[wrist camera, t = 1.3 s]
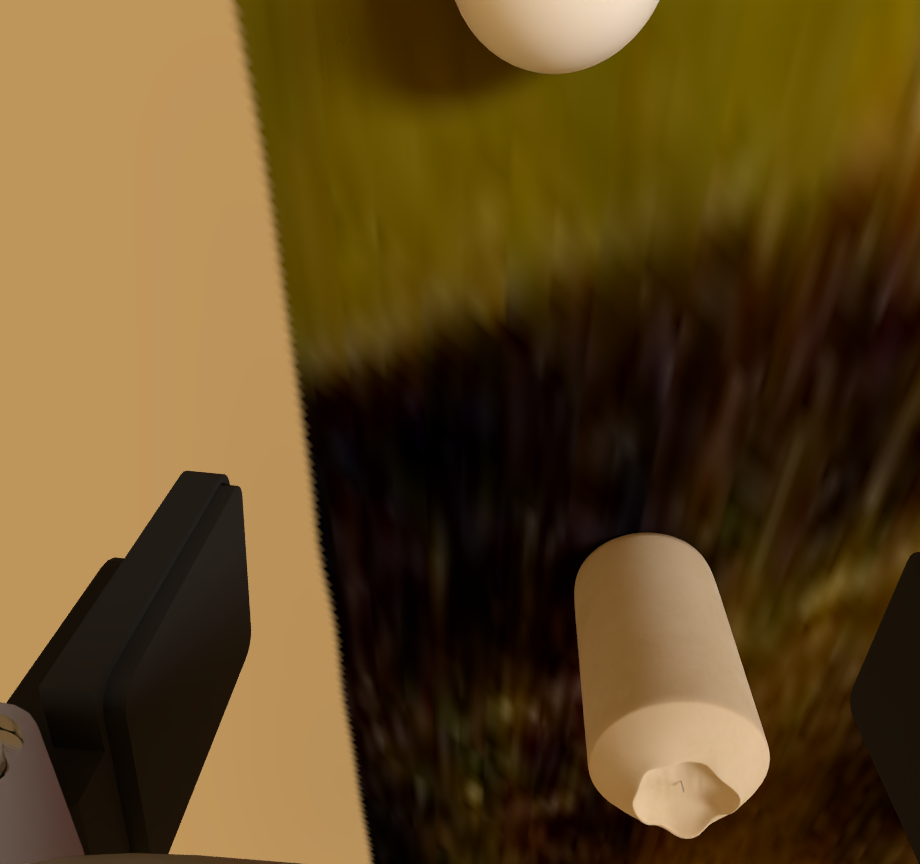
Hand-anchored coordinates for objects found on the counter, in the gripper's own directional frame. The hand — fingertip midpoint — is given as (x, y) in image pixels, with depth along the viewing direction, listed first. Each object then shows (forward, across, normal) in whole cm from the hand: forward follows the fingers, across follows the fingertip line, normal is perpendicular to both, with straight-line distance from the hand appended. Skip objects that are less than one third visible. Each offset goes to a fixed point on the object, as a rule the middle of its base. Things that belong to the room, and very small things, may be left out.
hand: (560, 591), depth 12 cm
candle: (+17, -6, +13) cm, 23 cm away
